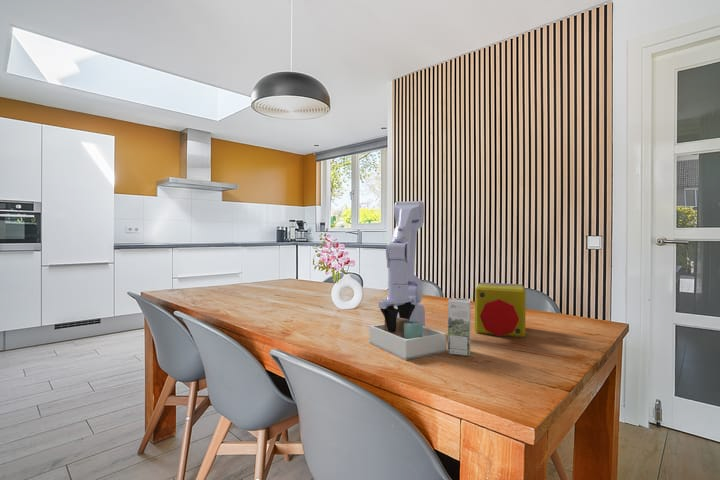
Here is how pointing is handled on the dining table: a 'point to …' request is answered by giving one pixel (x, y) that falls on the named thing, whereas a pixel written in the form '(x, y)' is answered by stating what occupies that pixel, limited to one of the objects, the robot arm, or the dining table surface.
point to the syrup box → (459, 326)
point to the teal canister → (413, 329)
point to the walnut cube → (398, 327)
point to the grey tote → (408, 342)
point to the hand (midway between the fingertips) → (397, 330)
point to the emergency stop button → (500, 309)
